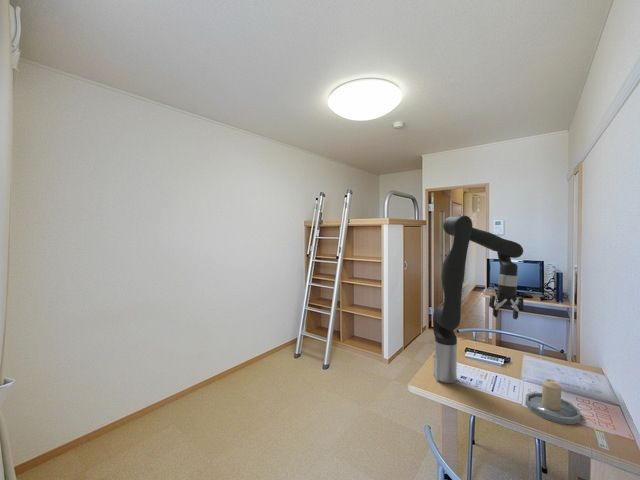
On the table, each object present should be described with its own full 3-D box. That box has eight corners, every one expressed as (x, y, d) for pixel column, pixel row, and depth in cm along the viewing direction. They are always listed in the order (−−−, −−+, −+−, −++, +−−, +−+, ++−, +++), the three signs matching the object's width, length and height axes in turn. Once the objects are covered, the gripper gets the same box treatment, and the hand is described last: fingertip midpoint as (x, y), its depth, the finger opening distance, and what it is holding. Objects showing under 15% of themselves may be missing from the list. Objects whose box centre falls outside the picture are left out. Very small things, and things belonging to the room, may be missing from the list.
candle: (561, 413, 104) (562, 386, 104) (543, 408, 107) (543, 382, 107) (559, 405, 109) (559, 379, 109) (541, 400, 112) (541, 375, 112)
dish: (542, 422, 101) (542, 416, 101) (517, 395, 117) (517, 391, 117) (592, 425, 99) (592, 420, 99) (560, 398, 115) (560, 393, 115)
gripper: (495, 284, 133) (492, 318, 133) (528, 286, 131) (525, 321, 131) (488, 281, 141) (485, 314, 141) (519, 284, 139) (516, 317, 139)
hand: (505, 317), depth 136 cm, fingers open, 8 cm apart
